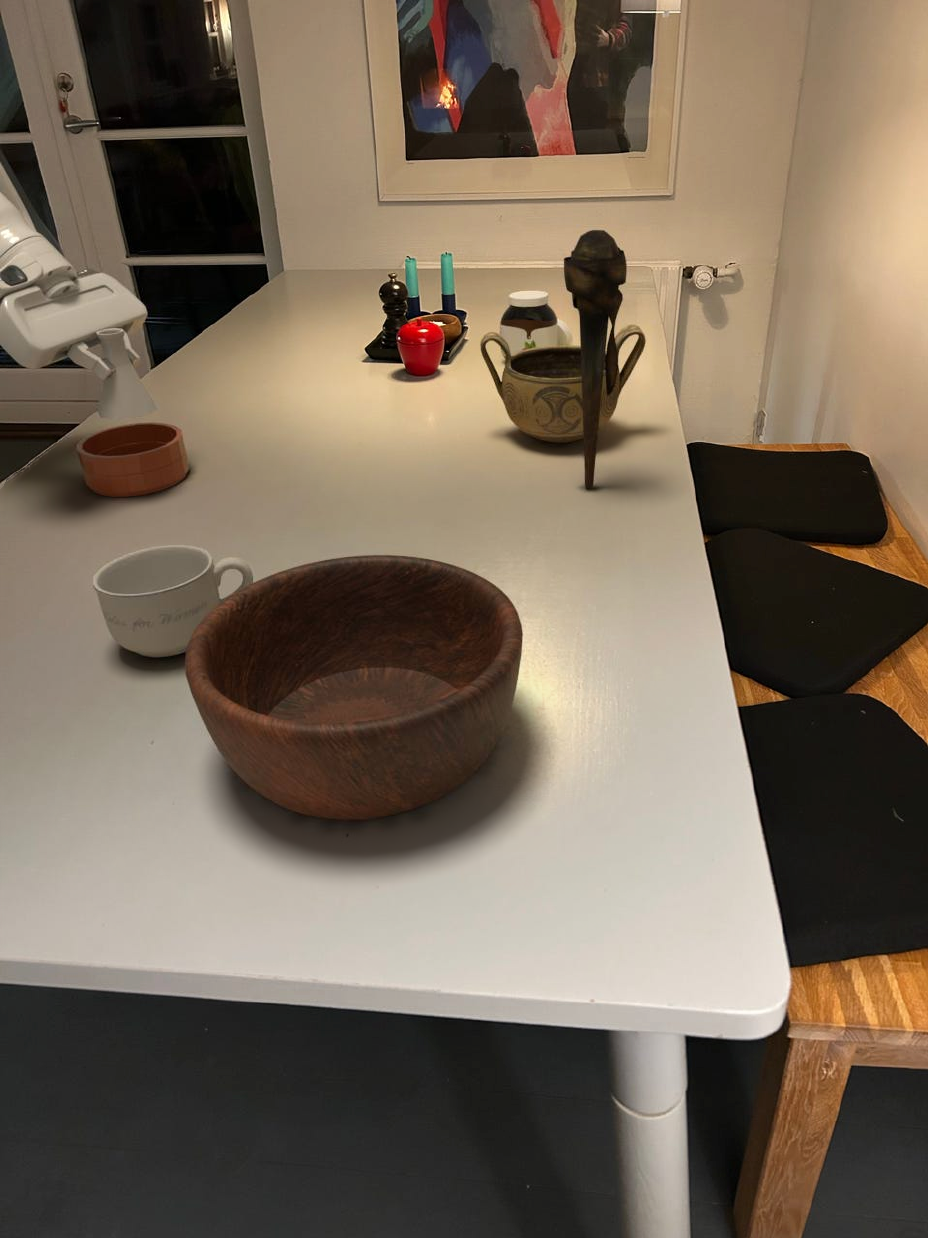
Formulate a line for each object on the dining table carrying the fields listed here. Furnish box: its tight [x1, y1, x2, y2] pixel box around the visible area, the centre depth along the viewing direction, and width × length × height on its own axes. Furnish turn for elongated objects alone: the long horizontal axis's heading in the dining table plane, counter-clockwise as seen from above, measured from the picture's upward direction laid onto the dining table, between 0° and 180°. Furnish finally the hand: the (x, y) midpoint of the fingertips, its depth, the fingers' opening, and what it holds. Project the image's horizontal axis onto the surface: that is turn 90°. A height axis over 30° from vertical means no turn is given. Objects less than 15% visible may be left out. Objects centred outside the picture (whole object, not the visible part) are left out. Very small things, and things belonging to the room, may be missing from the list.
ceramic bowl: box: [479, 324, 647, 444], centre depth 127 cm, size 22×17×15 cm
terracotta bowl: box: [76, 422, 190, 498], centre depth 123 cm, size 13×13×6 cm
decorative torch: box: [563, 229, 628, 489], centre depth 107 cm, size 7×7×30 cm
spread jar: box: [499, 290, 574, 360], centre depth 163 cm, size 12×11×12 cm
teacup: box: [92, 544, 254, 658], centre depth 86 cm, size 14×11×8 cm
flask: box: [96, 328, 159, 422], centre depth 112 cm, size 7×7×10 cm
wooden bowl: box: [184, 554, 524, 821], centre depth 71 cm, size 25×25×10 cm
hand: (122, 369), depth 111 cm, fingers closed on flask, 3 cm apart
